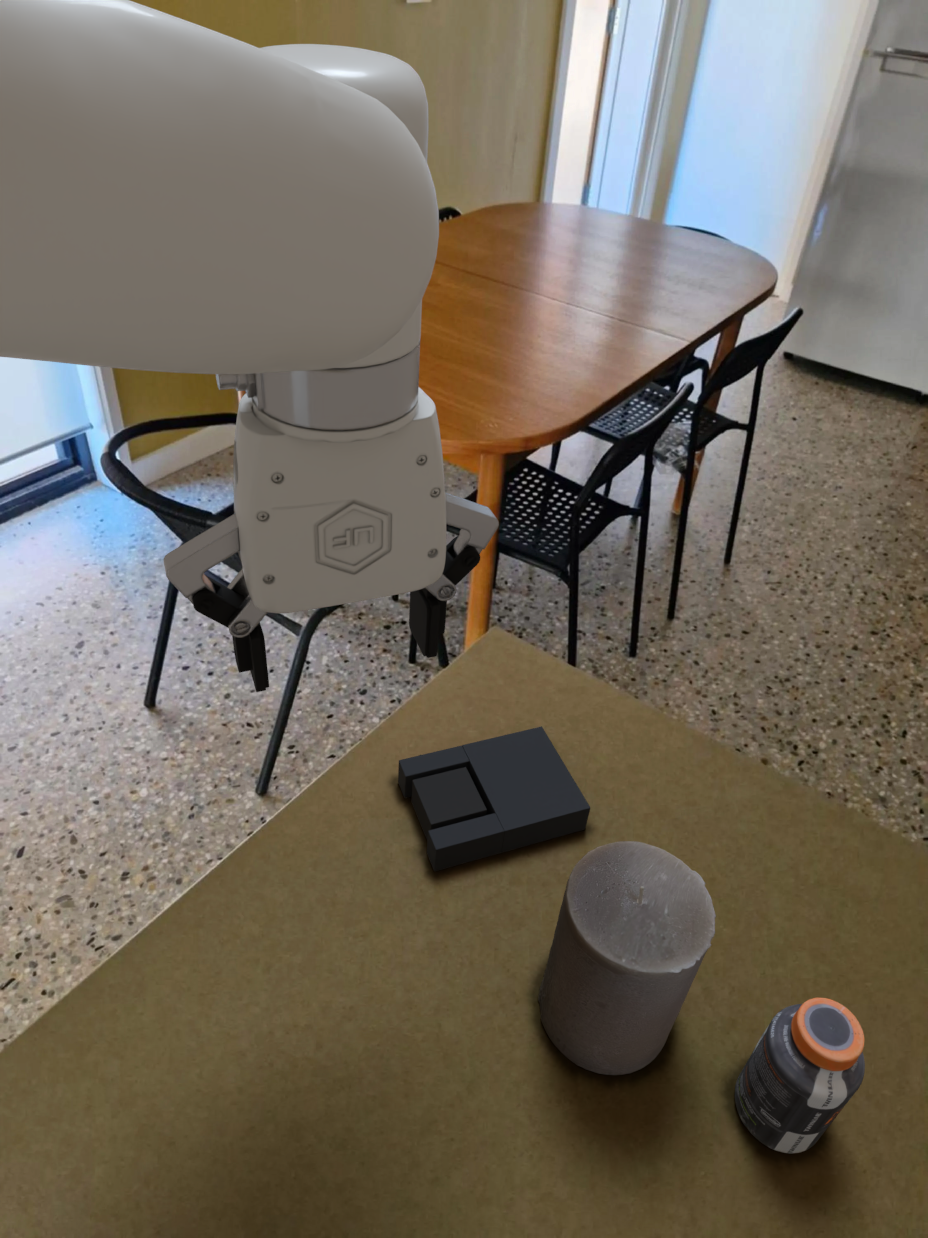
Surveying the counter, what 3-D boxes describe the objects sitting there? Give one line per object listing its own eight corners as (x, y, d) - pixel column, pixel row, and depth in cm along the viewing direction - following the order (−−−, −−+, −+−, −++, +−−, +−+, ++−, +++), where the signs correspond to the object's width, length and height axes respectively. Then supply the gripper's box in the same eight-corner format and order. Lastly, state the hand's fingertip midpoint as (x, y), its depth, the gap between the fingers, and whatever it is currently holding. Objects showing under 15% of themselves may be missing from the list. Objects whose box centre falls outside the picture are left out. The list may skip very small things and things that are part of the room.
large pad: (434, 872, 73) (435, 850, 71) (397, 782, 80) (398, 759, 78) (585, 829, 78) (590, 807, 76) (538, 748, 85) (542, 726, 83)
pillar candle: (512, 988, 66) (536, 867, 56) (611, 927, 70) (649, 806, 61) (596, 1106, 60) (639, 993, 50) (699, 1030, 64) (756, 914, 55)
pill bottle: (820, 1170, 58) (884, 1094, 50) (728, 1136, 59) (778, 1057, 52) (822, 1081, 62) (881, 999, 55) (736, 1051, 63) (783, 967, 56)
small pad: (429, 846, 75) (431, 824, 73) (411, 802, 79) (412, 779, 77) (484, 832, 77) (487, 809, 75) (463, 788, 80) (466, 766, 78)
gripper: (141, 434, 34) (195, 737, 45) (544, 391, 40) (507, 671, 51) (125, 356, 40) (177, 644, 51) (483, 328, 45) (461, 594, 56)
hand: (342, 658), depth 51 cm, fingers open, 9 cm apart
